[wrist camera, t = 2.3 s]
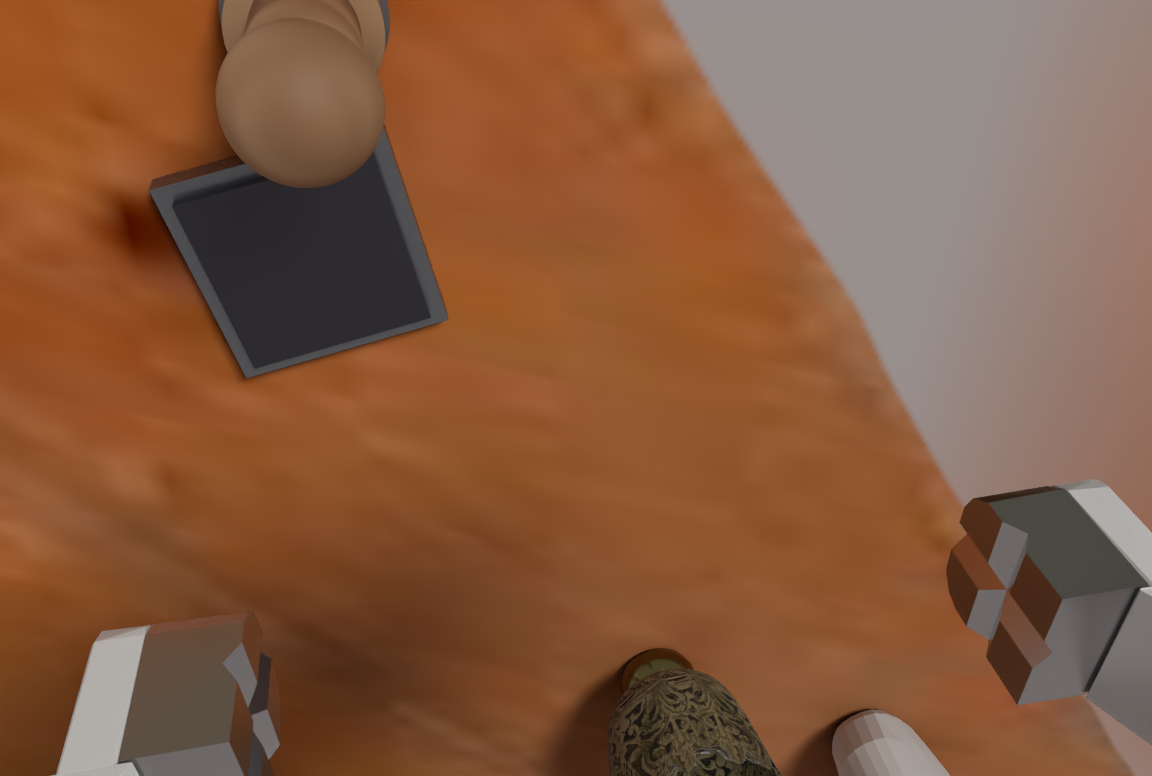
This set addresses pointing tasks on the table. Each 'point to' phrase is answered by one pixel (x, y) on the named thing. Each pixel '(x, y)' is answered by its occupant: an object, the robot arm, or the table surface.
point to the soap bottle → (881, 748)
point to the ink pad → (302, 258)
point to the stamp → (302, 86)
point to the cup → (680, 724)
